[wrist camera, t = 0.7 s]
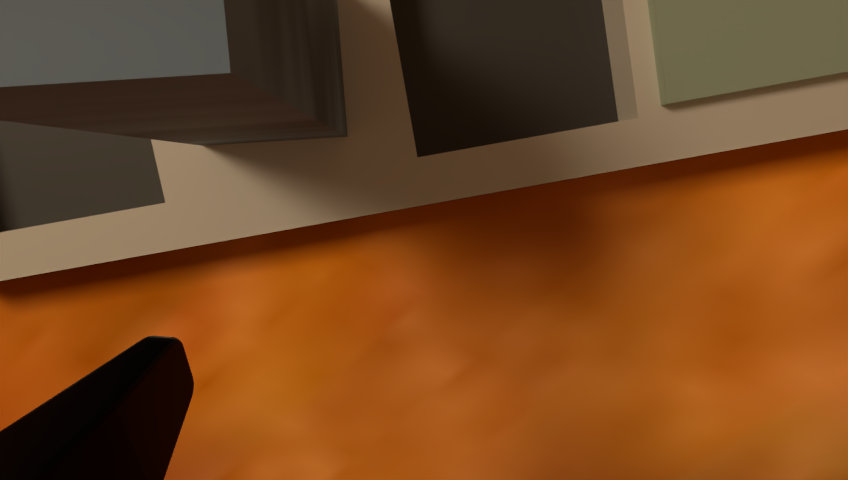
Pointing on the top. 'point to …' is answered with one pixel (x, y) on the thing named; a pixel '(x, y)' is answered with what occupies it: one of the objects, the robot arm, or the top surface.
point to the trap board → (443, 121)
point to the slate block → (175, 68)
